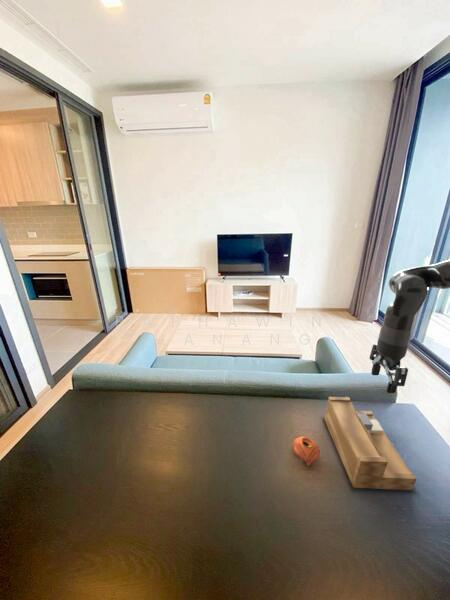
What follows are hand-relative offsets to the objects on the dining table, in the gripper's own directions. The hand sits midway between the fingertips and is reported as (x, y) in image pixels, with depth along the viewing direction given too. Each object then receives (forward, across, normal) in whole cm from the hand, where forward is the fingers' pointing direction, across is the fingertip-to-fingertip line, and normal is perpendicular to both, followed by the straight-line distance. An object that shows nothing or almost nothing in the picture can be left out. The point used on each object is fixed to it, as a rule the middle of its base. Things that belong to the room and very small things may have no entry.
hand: (382, 383), depth 78 cm
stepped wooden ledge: (+20, -8, +7) cm, 23 cm away
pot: (+20, -10, +25) cm, 34 cm away
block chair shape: (+16, -2, +3) cm, 17 cm away
